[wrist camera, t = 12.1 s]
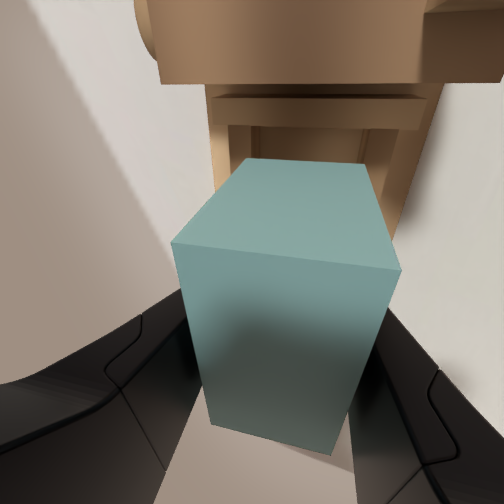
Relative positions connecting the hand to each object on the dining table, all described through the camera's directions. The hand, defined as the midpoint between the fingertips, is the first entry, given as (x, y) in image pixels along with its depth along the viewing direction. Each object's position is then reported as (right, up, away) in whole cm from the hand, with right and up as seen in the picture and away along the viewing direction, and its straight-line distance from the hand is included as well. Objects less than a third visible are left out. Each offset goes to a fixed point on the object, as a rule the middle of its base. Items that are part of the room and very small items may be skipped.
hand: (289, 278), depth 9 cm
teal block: (0, +1, +1) cm, 2 cm away
